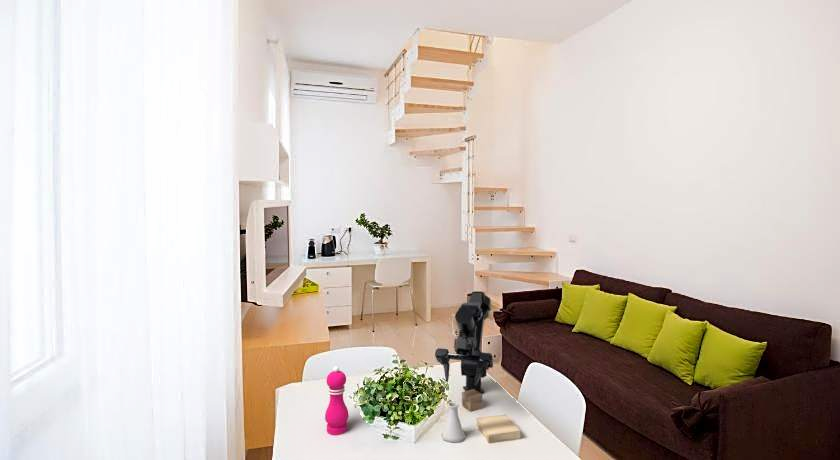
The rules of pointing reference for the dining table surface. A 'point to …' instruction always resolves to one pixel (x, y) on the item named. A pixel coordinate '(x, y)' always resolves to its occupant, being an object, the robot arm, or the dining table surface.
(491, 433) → the oak block
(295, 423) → the dining table surface
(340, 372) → the pepper mill
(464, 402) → the walnut cube
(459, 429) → the flask
